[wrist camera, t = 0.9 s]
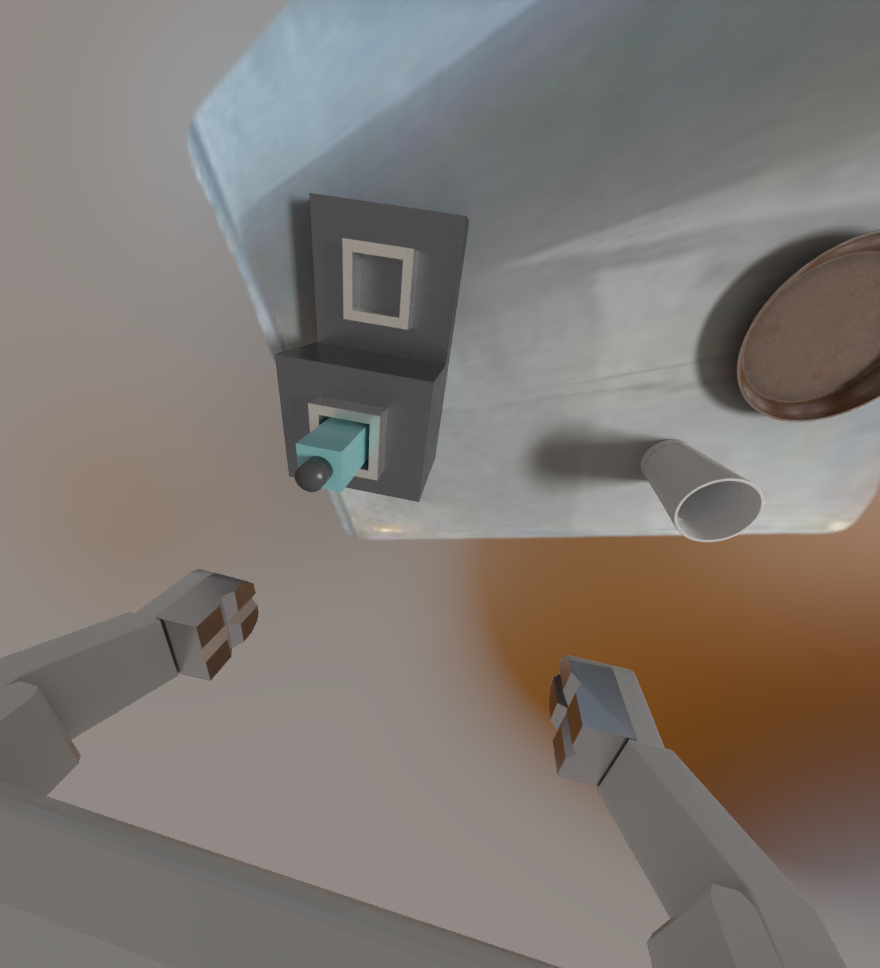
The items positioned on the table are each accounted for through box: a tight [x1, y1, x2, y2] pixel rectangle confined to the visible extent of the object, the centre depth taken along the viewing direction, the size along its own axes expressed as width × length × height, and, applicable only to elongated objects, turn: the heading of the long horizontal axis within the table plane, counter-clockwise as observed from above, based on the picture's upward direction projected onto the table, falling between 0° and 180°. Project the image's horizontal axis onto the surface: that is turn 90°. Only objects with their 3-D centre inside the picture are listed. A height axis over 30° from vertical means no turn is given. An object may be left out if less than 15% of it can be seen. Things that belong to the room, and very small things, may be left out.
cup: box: [640, 439, 765, 542], centre depth 39 cm, size 8×8×12 cm
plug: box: [295, 417, 370, 492], centre depth 32 cm, size 5×4×10 cm
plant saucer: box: [737, 229, 880, 422], centre depth 34 cm, size 18×18×3 cm
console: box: [275, 193, 469, 502], centre depth 36 cm, size 28×16×14 cm, turn 172°
